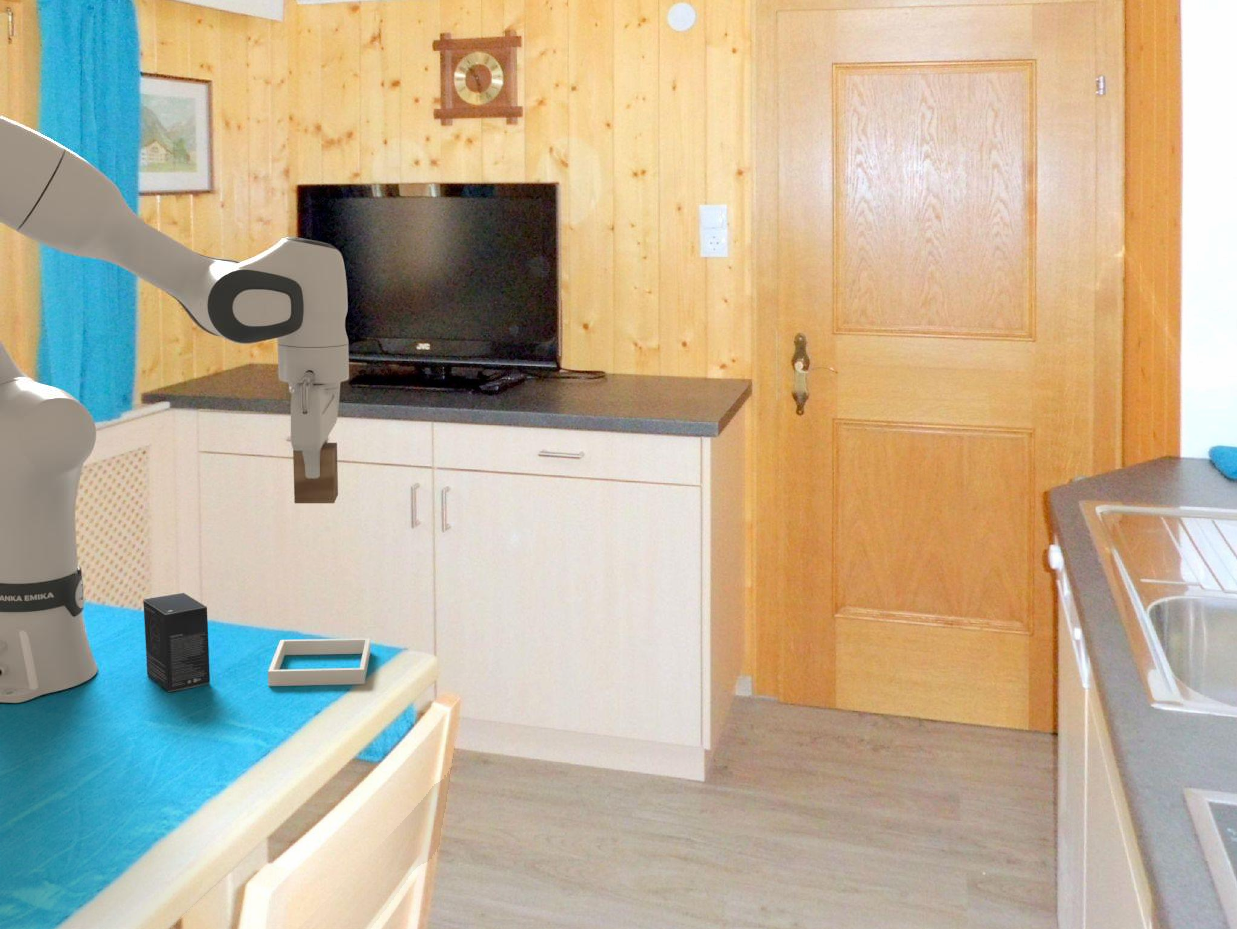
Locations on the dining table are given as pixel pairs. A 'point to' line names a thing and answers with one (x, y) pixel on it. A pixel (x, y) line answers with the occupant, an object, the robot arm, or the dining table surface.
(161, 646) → the box
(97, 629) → the dining table surface
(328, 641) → the white square frame
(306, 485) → the walnut block
